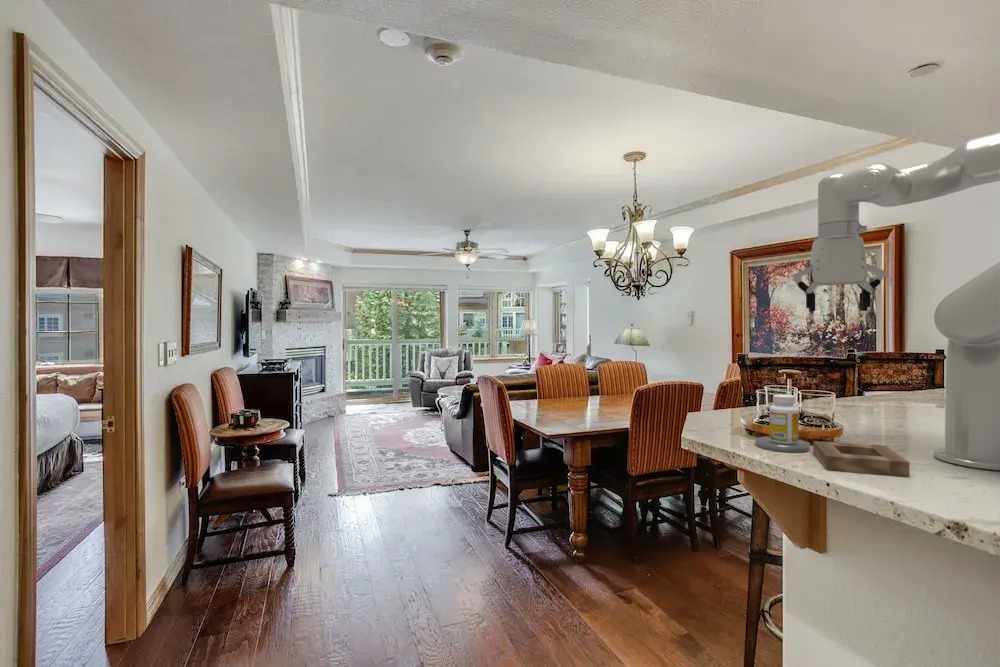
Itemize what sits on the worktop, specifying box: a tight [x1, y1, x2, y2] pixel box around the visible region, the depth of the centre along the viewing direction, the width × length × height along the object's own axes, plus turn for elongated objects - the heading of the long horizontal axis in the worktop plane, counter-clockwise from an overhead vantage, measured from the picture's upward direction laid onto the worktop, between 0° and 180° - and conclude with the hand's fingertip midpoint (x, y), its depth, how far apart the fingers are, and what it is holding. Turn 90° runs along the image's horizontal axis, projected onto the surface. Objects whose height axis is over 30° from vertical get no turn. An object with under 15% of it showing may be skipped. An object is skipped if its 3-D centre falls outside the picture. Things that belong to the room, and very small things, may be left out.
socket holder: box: [812, 440, 911, 478], centre depth 95 cm, size 12×12×2 cm
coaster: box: [754, 435, 811, 454], centre depth 108 cm, size 10×10×1 cm
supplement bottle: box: [768, 394, 800, 444], centre depth 108 cm, size 5×5×10 cm
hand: (837, 311), depth 113 cm, fingers open, 9 cm apart
